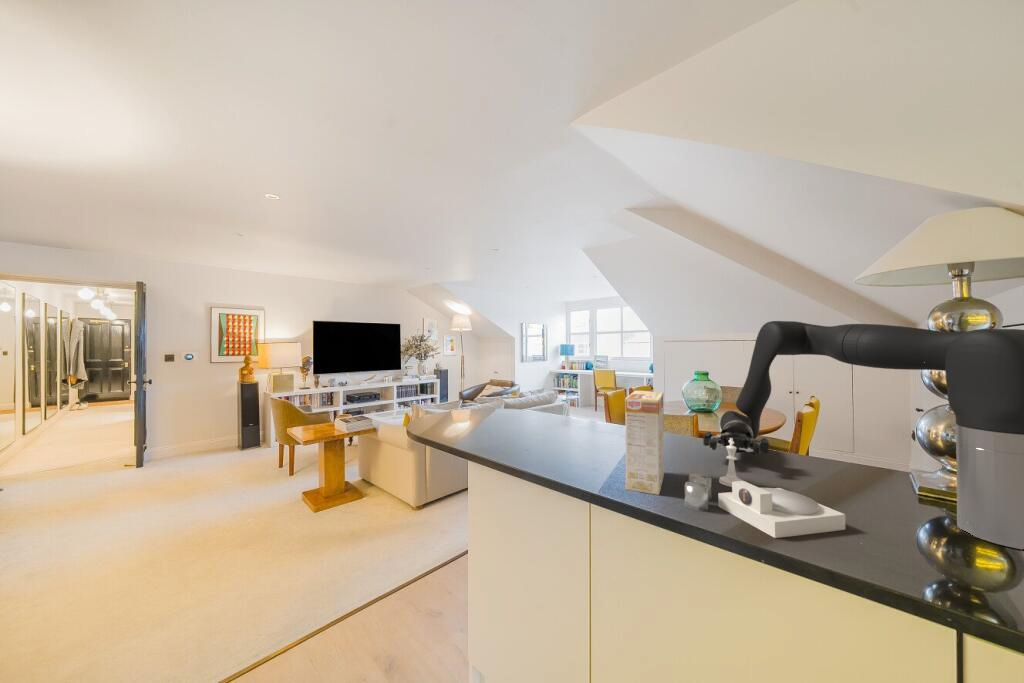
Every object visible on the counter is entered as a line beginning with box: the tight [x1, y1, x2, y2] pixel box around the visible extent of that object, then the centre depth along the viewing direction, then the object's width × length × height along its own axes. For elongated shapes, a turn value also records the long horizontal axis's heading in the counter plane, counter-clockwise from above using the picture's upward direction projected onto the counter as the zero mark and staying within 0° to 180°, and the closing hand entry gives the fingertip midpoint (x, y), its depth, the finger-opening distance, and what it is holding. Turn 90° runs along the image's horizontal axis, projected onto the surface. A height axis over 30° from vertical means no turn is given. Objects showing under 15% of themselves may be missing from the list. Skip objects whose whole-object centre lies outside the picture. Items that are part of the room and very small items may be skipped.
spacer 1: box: [688, 472, 712, 501], centre depth 76 cm, size 4×4×4 cm
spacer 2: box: [684, 481, 709, 512], centre depth 71 cm, size 4×4×4 cm
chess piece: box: [718, 438, 744, 488], centre depth 83 cm, size 5×5×10 cm
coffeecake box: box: [624, 390, 665, 496], centre depth 85 cm, size 15×7×20 cm, turn 154°
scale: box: [717, 480, 846, 539], centre depth 67 cm, size 14×12×6 cm
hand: (733, 448), depth 90 cm, fingers open, 8 cm apart
